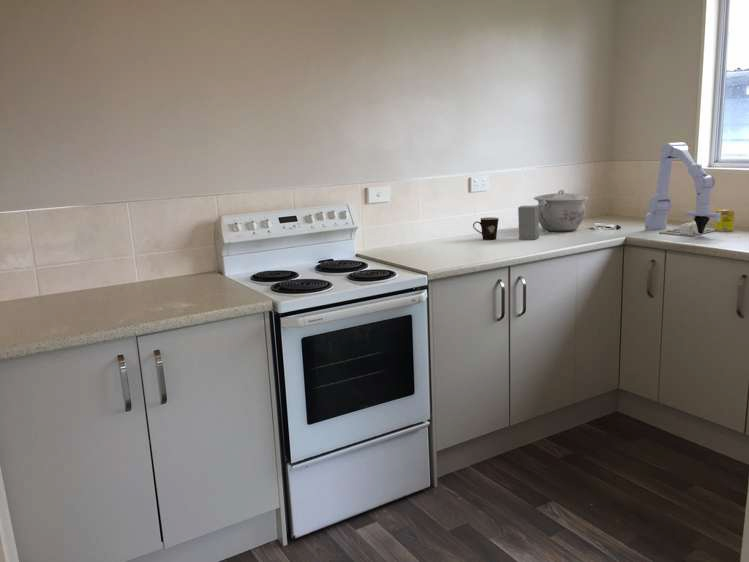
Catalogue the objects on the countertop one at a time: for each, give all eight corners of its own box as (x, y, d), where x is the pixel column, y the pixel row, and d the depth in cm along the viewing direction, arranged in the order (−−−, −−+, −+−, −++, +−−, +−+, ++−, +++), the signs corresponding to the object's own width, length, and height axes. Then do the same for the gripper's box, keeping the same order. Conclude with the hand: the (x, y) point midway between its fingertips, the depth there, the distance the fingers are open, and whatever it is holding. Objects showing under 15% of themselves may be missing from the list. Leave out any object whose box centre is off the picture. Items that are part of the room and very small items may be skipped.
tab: (679, 234, 306) (680, 223, 305) (684, 233, 309) (684, 222, 308) (688, 235, 303) (689, 223, 302) (692, 234, 306) (693, 223, 305)
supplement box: (732, 233, 313) (734, 210, 311) (719, 234, 314) (721, 211, 311) (726, 232, 319) (728, 209, 317) (713, 232, 319) (715, 209, 317)
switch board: (658, 236, 311) (659, 232, 311) (682, 231, 326) (683, 226, 326) (693, 240, 299) (693, 235, 299) (716, 233, 314) (716, 229, 314)
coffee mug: (499, 238, 322) (499, 217, 320) (496, 240, 314) (497, 219, 312) (475, 237, 326) (475, 217, 324) (472, 240, 318) (472, 219, 316)
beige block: (687, 232, 311) (687, 221, 309) (691, 231, 313) (691, 220, 312) (695, 233, 308) (696, 222, 306) (699, 232, 310) (700, 221, 309)
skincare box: (539, 238, 318) (539, 205, 315) (534, 240, 312) (535, 206, 309) (521, 237, 322) (522, 204, 319) (517, 239, 316) (517, 206, 313)
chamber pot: (577, 225, 357) (578, 186, 352) (595, 232, 330) (597, 190, 325) (525, 227, 356) (526, 188, 352) (539, 234, 329) (540, 192, 325)
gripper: (682, 202, 301) (680, 232, 304) (715, 204, 290) (713, 235, 293) (689, 201, 305) (687, 230, 308) (722, 203, 294) (720, 233, 297)
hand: (700, 233), depth 301 cm, fingers closed
